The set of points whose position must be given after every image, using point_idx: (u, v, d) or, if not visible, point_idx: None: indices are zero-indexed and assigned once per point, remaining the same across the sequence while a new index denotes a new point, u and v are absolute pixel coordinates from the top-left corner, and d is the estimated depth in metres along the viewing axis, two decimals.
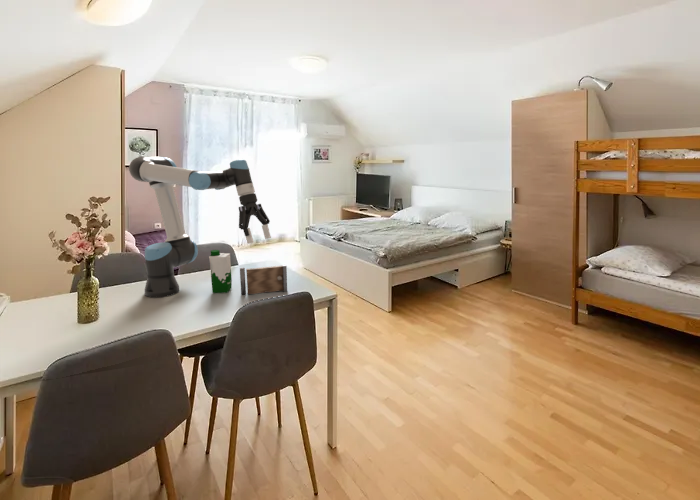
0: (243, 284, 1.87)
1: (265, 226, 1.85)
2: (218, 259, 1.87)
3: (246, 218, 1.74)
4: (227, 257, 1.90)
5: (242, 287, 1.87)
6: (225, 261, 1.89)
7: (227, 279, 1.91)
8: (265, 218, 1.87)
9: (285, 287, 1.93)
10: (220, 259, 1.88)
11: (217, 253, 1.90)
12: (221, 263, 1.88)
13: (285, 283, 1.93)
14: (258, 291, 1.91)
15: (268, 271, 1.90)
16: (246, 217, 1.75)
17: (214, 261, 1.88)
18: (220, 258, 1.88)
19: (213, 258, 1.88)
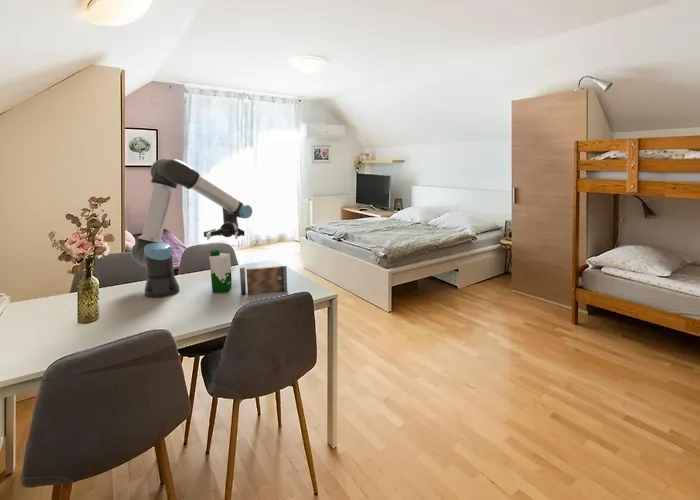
0: (243, 284, 1.87)
1: (210, 236, 2.03)
2: (218, 259, 1.87)
3: None
4: (227, 257, 1.90)
5: (242, 287, 1.87)
6: (225, 261, 1.89)
7: (227, 279, 1.91)
8: None
9: (285, 287, 1.93)
10: (220, 259, 1.88)
11: (217, 253, 1.90)
12: (221, 263, 1.88)
13: (285, 283, 1.93)
14: (258, 291, 1.91)
15: (268, 271, 1.90)
16: None
17: (214, 261, 1.88)
18: (220, 258, 1.88)
19: (213, 258, 1.88)
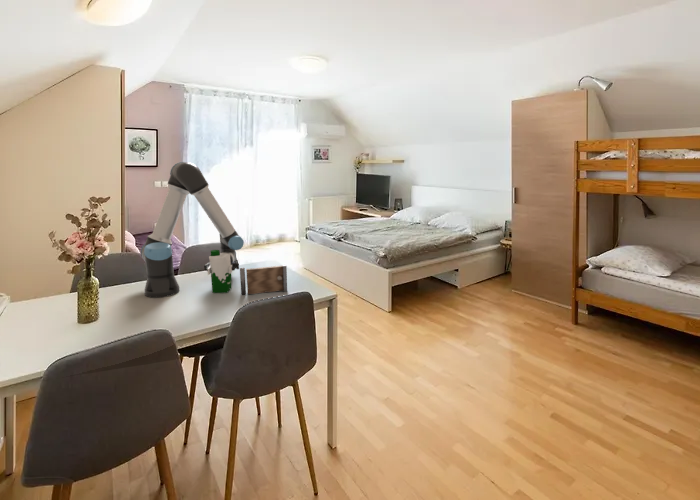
0: (243, 284, 1.87)
1: None
2: (218, 259, 1.87)
3: None
4: (227, 257, 1.90)
5: (242, 287, 1.87)
6: (225, 261, 1.89)
7: (227, 278, 1.91)
8: None
9: (285, 287, 1.93)
10: (220, 259, 1.88)
11: (217, 253, 1.90)
12: (221, 263, 1.88)
13: (285, 283, 1.93)
14: (258, 291, 1.91)
15: (268, 271, 1.90)
16: None
17: (214, 261, 1.88)
18: (220, 258, 1.88)
19: (213, 258, 1.88)
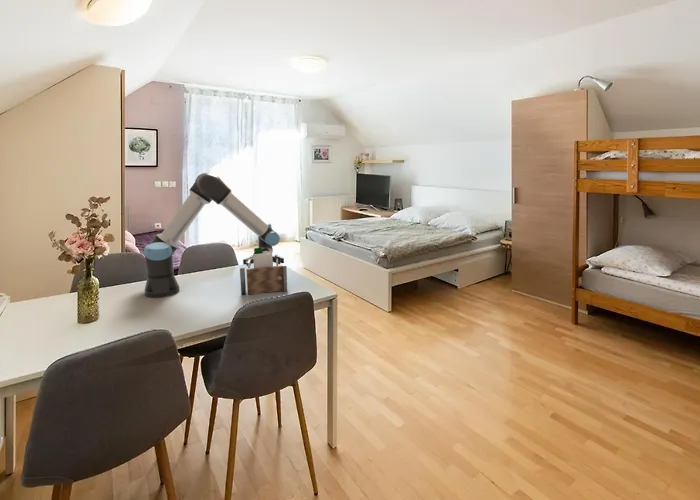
0: (243, 284, 1.87)
1: (250, 263, 1.99)
2: (262, 257, 1.92)
3: None
4: (270, 255, 1.95)
5: (242, 287, 1.87)
6: (268, 259, 1.93)
7: None
8: None
9: (285, 287, 1.93)
10: (264, 256, 1.93)
11: (260, 251, 1.95)
12: (265, 261, 1.93)
13: (285, 283, 1.93)
14: (258, 291, 1.91)
15: (268, 271, 1.90)
16: None
17: (258, 259, 1.93)
18: (264, 256, 1.92)
19: (257, 256, 1.92)
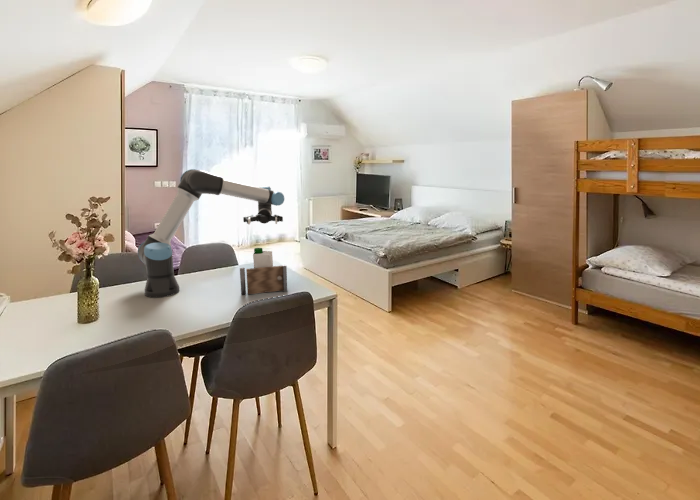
0: (243, 284, 1.87)
1: (250, 221, 2.07)
2: (262, 257, 1.92)
3: None
4: (270, 255, 1.95)
5: (242, 287, 1.87)
6: (268, 259, 1.94)
7: None
8: None
9: (285, 287, 1.93)
10: (264, 256, 1.93)
11: (260, 251, 1.95)
12: (265, 261, 1.93)
13: (285, 283, 1.93)
14: (258, 291, 1.91)
15: (268, 271, 1.90)
16: None
17: (258, 259, 1.93)
18: (264, 256, 1.93)
19: (257, 256, 1.93)
